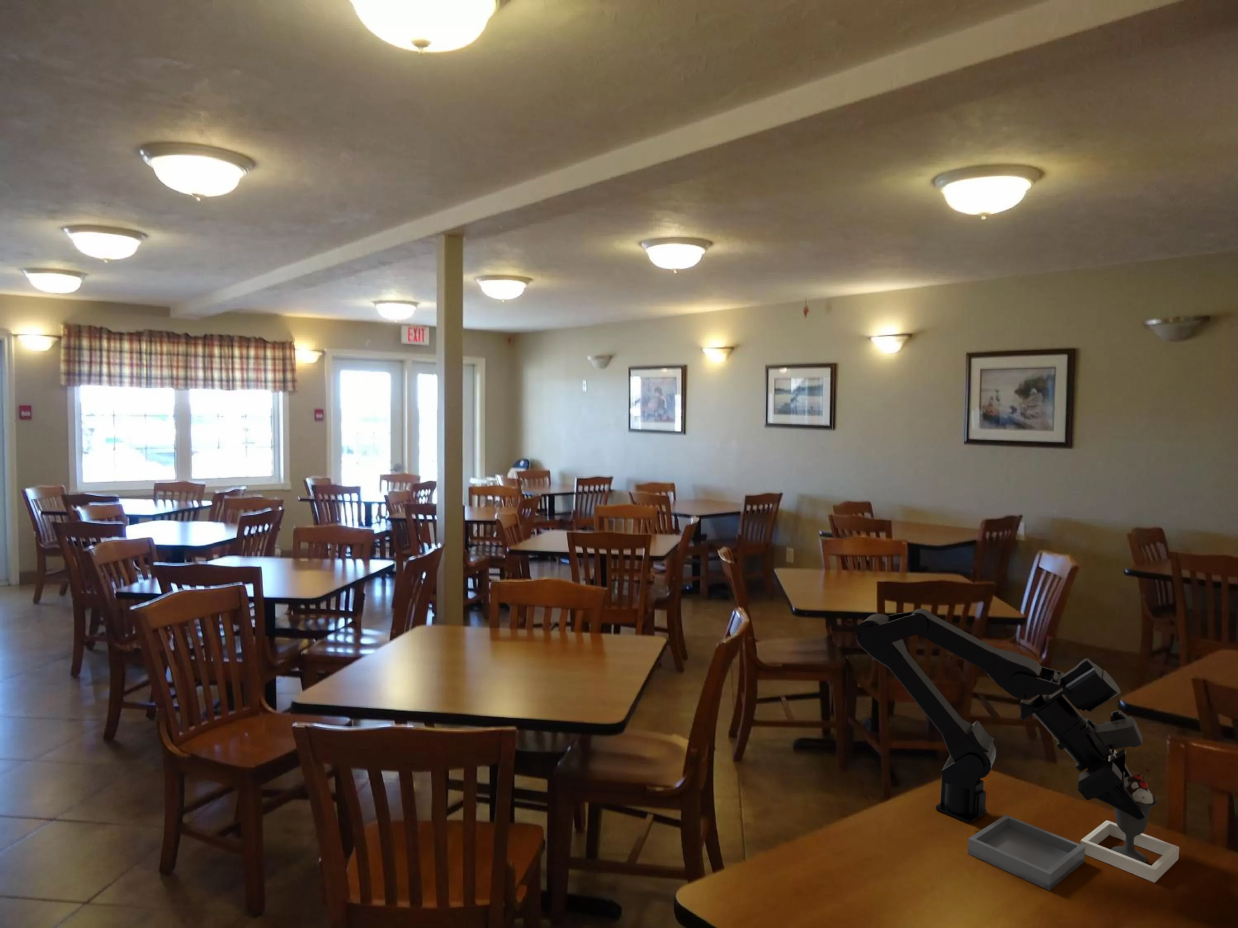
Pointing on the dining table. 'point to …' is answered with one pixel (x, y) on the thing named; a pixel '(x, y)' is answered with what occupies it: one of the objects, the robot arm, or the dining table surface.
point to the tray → (1027, 851)
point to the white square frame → (1126, 863)
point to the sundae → (1128, 822)
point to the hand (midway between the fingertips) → (1142, 809)
